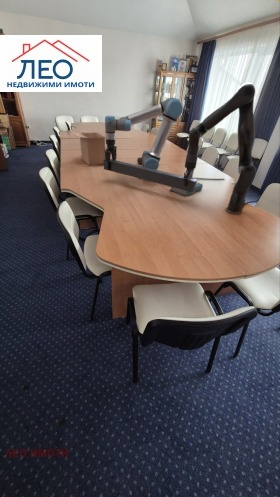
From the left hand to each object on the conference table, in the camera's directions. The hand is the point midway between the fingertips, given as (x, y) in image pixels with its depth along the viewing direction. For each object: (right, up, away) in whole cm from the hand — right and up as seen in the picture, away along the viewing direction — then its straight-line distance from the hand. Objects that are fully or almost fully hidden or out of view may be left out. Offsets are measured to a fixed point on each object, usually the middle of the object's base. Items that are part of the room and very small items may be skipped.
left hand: (111, 169), depth 186 cm
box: (-26, +27, +51) cm, 63 cm away
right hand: (+58, -21, -27) cm, 67 cm away
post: (+29, -12, -12) cm, 34 cm away
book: (+63, -18, 0) cm, 66 cm away
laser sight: (+32, +24, +54) cm, 67 cm away
